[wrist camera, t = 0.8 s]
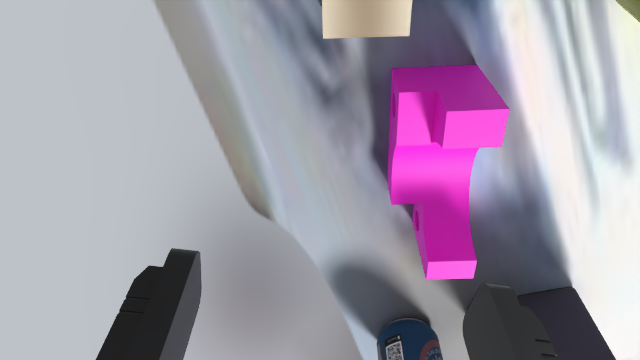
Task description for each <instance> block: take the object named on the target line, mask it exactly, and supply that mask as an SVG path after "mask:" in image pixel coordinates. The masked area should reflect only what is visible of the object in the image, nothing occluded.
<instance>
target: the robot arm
mask: <svg viewBox="0 0 640 360" xmlns="http://www.w3.org/2000/svg"><path fill="white" fill-rule="evenodd" d="M200 298H201V261H200V252H199V251H192V250H182V249H173V248H172V249H171V250H170V252H169V254H168V257H167V259H166V261H165V264H164V266H163V267H156V266H148V267H147V268H146V269H145V270H144V271H143V272H142V273H141V274H140V275H138V276H137V277H136V278H135V279H134V281H133V283H132V285H131V287H130V289H129V291H128V293H127V295H126V299H125V300H124V302H123V304H122V306H121V308H120V312H119V314H118V315H117V316H116V319H115V321H114V323H113V325H112V327H111V329H110V331H109V333H108V335H107V337H106V339H105V342H104V344H103V346H102V348H101V350H100V352H99V354H98V356H97V358H96V360H183V358H184V355H185V351H186V348H187V345H188V341H189V338H190V335H191V331H192V328H193V325H194V322H195V318H196V315H197V311H198V308H199V304H200ZM463 337H464V341H465V344H466V348H467V351H468V355H469V358H470V360H559V359H557V354H556V352H555V350H554V348H553V345H552V344H550V339H549V337H548V335H547V332H546V330H545V328H544V326H543V324H542V322H541V321H540V320H539V319H538V318H537V317H536V315H535V314H534V313H533V312H532V311H531V310H530V309H529V307H525V306H520V304H519V301H518V299H517V297H516V294H515V292H514V290H513V289H512V288H511V287H510V286H505V285H496V284H487V283H483V284H481V285H480V287H479V288H478V290H477V292H476V294H475V296H474V298H473V300H472V302H471V304H470V306H469V308H468V310H467V312H466V314H465V316H464V320H463Z"/></svg>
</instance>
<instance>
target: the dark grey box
mask: <svg viewBox="0 0 640 360" xmlns="http://www.w3.org/2000/svg"><path fill="white" fill-rule="evenodd" d="M516 297H517V299H518V301H519V304H520V306H525V307H529V309H530V310H531V311H532V312H533V313H534V314H535V315H536V317H537V318H538V319H539V320H540V321H541V322H542V324H543V326H544V328H545V330H546V332H547V335H548V337H549V339H550V344H552V345H553V348H554V350H555V352H556V354H557V359H559V360H616V359H615V357H614V355H613V354H612V352H611V350H610V349H609V347H608V345H607V343H606V342H605V340H604V338H603V336H602V335H601V333H600V331H599V330H598V328H597V326H596V324H595V323H594V321H593V319H592V317H591V316H590V314H589V312H588V311H587V309H586V307H585V305H584V304H583V302H582V300H581V298H580V297H579V295H578V293H577V292H576V290H575V289H574V288H572V287H567V288H561V289H556V290H550V291H544V292H539V293H533V294H527V295H522V296H516Z"/></svg>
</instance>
